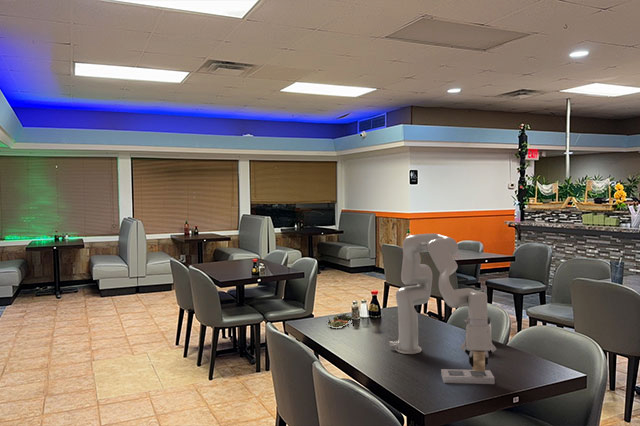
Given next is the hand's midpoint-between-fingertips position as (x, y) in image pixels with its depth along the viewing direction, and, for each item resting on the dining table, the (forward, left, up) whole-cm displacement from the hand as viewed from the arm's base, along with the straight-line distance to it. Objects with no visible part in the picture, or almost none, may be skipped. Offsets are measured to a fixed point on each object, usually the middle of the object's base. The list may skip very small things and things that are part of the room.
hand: (478, 365), depth 208 cm
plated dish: (-63, +88, -7) cm, 108 cm away
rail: (-5, 0, -6) cm, 7 cm away
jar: (+12, +57, -6) cm, 59 cm away
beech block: (0, 0, -2) cm, 2 cm away
